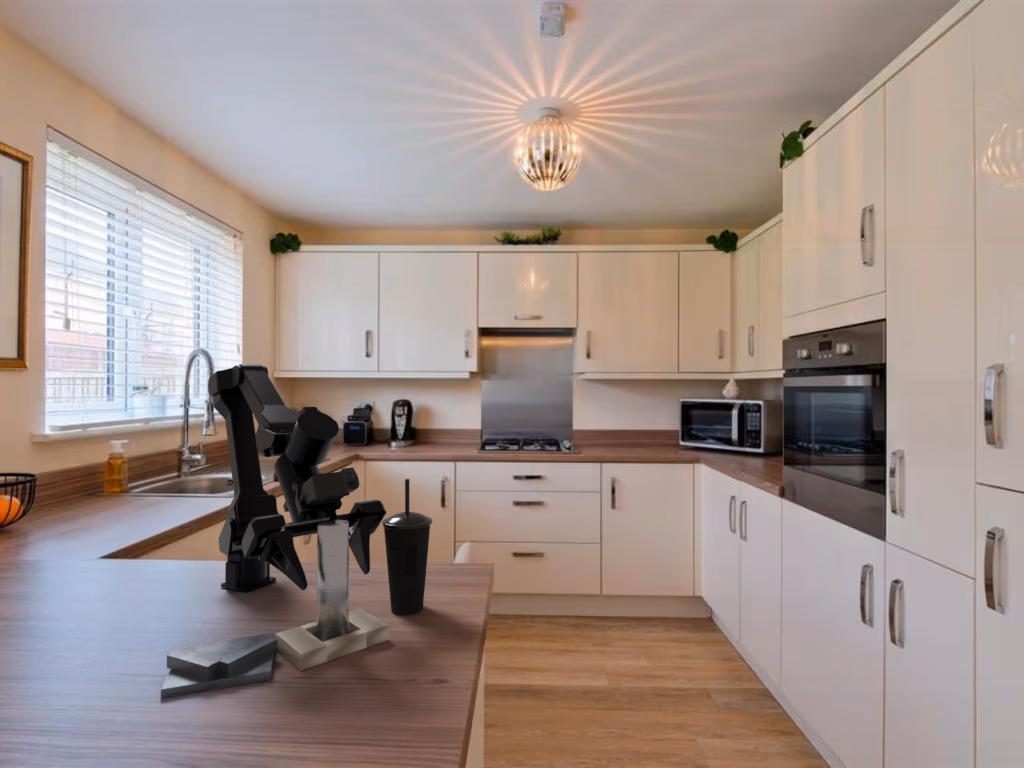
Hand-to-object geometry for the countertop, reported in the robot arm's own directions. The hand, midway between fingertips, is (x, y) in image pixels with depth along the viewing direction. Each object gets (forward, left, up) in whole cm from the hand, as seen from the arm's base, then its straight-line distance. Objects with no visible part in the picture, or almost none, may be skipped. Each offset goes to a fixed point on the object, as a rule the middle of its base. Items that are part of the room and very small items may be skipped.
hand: (337, 580), depth 72 cm
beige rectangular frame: (-1, -1, -9) cm, 9 cm away
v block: (+9, -9, -9) cm, 16 cm away
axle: (-1, -1, -9) cm, 9 cm away
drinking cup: (-15, +1, -9) cm, 17 cm away
